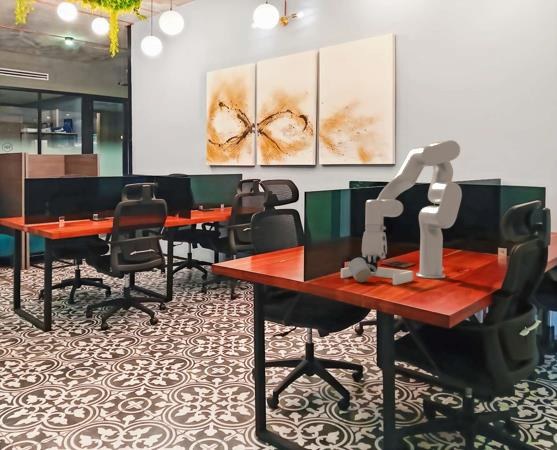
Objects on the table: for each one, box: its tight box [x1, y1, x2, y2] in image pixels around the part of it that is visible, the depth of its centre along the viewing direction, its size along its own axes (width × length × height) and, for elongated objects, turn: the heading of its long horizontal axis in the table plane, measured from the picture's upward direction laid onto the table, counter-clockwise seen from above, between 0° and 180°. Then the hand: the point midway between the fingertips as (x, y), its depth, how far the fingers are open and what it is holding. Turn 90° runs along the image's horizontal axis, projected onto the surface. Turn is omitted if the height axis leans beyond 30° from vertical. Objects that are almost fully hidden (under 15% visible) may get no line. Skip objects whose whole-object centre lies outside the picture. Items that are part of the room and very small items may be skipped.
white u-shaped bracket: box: [340, 266, 414, 286], centre depth 219 cm, size 16×26×4 cm, turn 49°
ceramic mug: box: [347, 257, 377, 283], centre depth 212 cm, size 11×8×8 cm
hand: (373, 271), depth 217 cm, fingers closed
